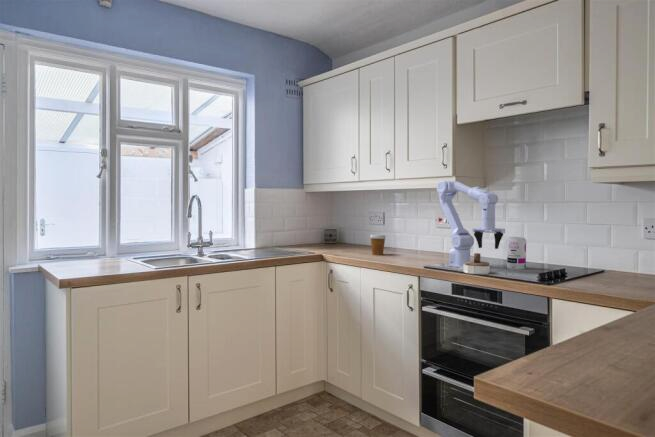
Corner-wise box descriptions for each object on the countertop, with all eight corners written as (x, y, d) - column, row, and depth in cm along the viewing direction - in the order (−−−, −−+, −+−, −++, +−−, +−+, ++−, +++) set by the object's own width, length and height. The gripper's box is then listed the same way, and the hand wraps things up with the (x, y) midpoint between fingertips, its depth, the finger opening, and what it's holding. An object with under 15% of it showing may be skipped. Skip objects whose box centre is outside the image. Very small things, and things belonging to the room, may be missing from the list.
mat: (482, 271, 211) (482, 270, 211) (491, 268, 219) (491, 267, 219) (513, 274, 202) (513, 273, 202) (521, 271, 210) (521, 270, 210)
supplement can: (524, 268, 222) (524, 236, 221) (526, 270, 214) (527, 238, 213) (506, 267, 224) (506, 236, 224) (508, 269, 216) (508, 237, 216)
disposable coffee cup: (371, 255, 270) (371, 235, 269) (368, 253, 279) (368, 234, 279) (387, 255, 271) (387, 235, 271) (383, 253, 280) (383, 234, 280)
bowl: (459, 273, 206) (459, 265, 205) (469, 270, 214) (469, 262, 214) (483, 275, 198) (483, 267, 198) (493, 272, 207) (493, 264, 207)
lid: (460, 264, 207) (460, 253, 207) (472, 262, 214) (472, 251, 214) (481, 267, 199) (481, 255, 199) (493, 264, 206) (493, 253, 206)
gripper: (469, 218, 214) (469, 248, 214) (501, 219, 204) (500, 249, 205) (476, 218, 219) (475, 246, 219) (506, 218, 210) (506, 248, 210)
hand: (488, 248), depth 212 cm, fingers open, 7 cm apart
